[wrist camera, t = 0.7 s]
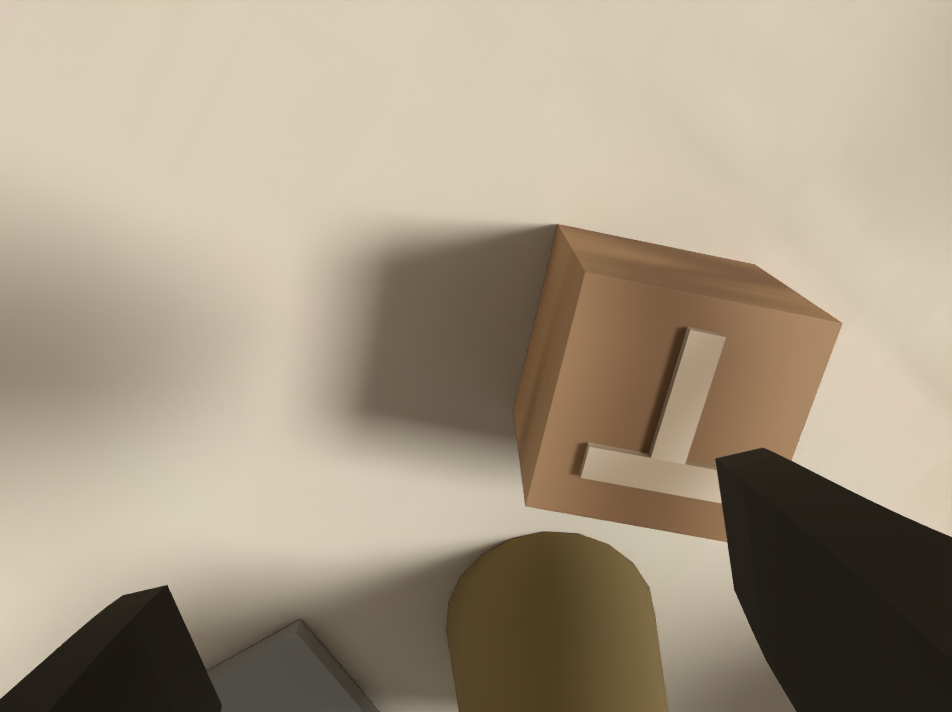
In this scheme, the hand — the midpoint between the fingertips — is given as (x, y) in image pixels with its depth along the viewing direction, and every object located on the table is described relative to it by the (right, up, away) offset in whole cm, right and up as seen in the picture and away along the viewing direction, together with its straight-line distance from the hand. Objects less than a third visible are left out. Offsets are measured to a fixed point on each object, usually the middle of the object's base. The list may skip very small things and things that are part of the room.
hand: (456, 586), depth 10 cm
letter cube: (+4, +3, +10) cm, 11 cm away
